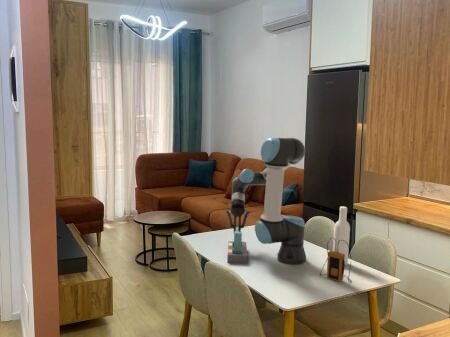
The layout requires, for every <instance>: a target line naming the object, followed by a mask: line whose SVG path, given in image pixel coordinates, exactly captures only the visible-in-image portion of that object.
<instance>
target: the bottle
mask: <svg viewBox="0 0 450 337" xmlns="http://www.w3.org/2000/svg"><path fill="white" fill-rule="evenodd" d="M347 215H348V207H347V206H339V218H338V221H336V222H335V224H334V230H333V246H332V247H333V248H332V251H335V246H336V252H337V247H338V252H339V253H343V254H345V259H344V261H345V265H346V266H348V265H349V264H348V263H349V251H350V250H349V248H350V235H351V234H350V233H351V226H350V223H349V222H348V221H347ZM334 238H335V239H334ZM335 240H336V241H335ZM340 240H344V241H340ZM345 241H346V242H347V243H346V242H345ZM338 242H339V243H338ZM347 244H348V245H347ZM348 246H349V247H348Z"/></svg>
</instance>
